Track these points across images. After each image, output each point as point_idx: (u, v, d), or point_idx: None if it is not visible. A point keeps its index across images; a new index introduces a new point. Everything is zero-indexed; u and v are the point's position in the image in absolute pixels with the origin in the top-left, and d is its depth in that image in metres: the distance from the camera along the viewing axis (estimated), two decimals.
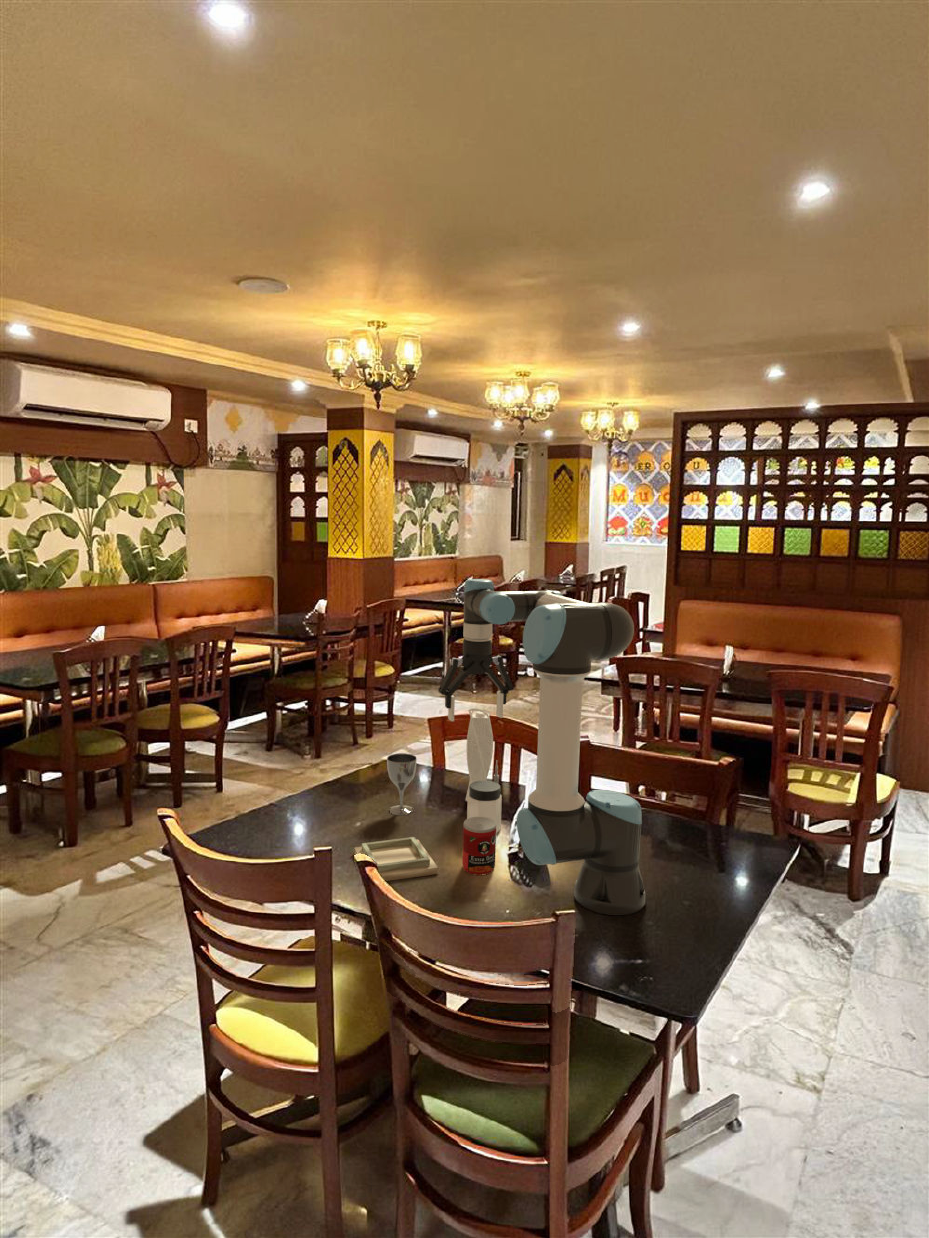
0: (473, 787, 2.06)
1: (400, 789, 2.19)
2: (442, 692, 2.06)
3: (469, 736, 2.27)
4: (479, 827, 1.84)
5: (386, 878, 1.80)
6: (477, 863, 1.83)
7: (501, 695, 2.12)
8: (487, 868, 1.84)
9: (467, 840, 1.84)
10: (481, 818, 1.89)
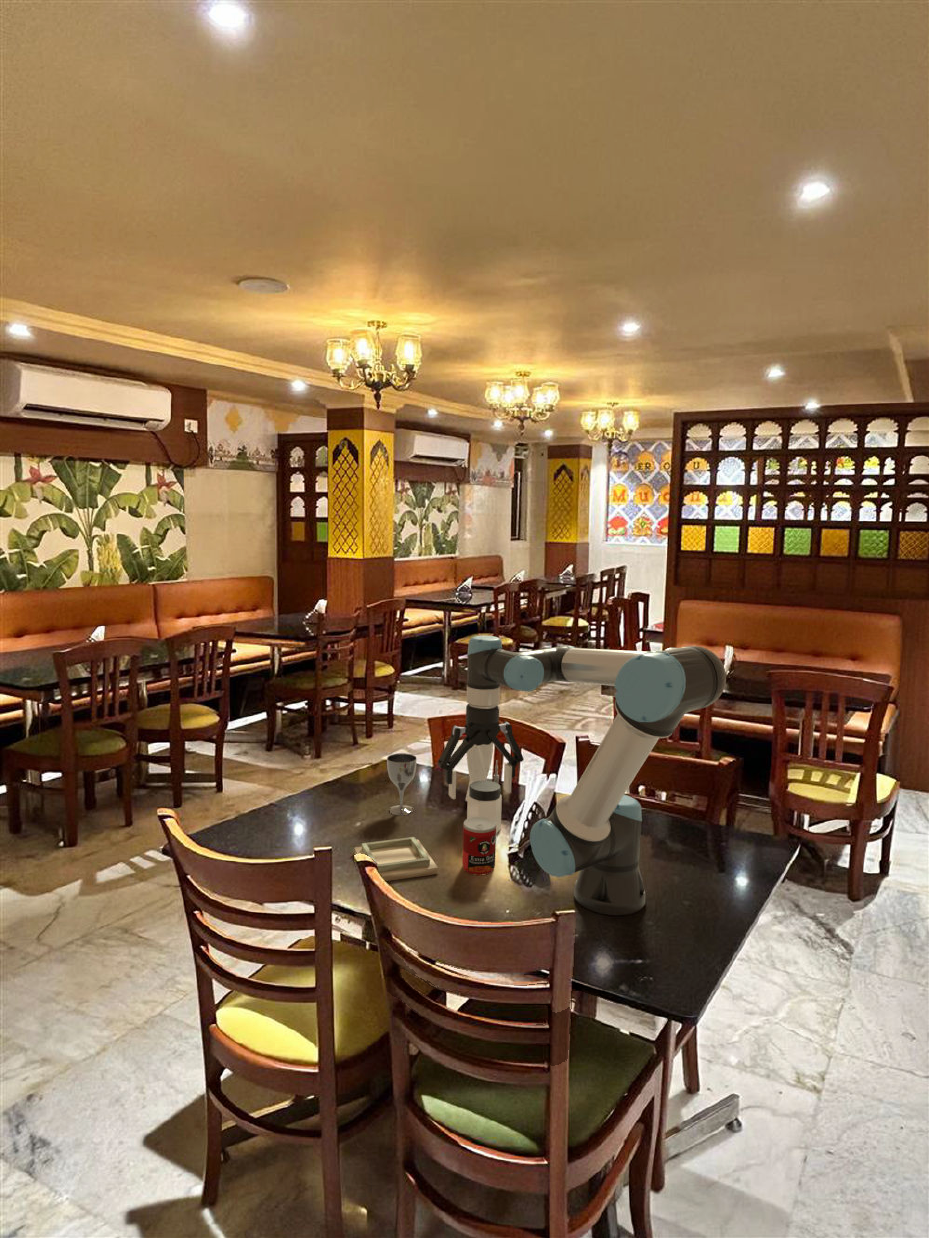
0: (473, 787, 2.06)
1: (400, 789, 2.19)
2: (442, 766, 1.80)
3: None
4: (479, 827, 1.84)
5: (386, 878, 1.80)
6: (477, 863, 1.83)
7: (509, 767, 1.85)
8: (487, 868, 1.84)
9: (467, 840, 1.84)
10: (481, 818, 1.89)
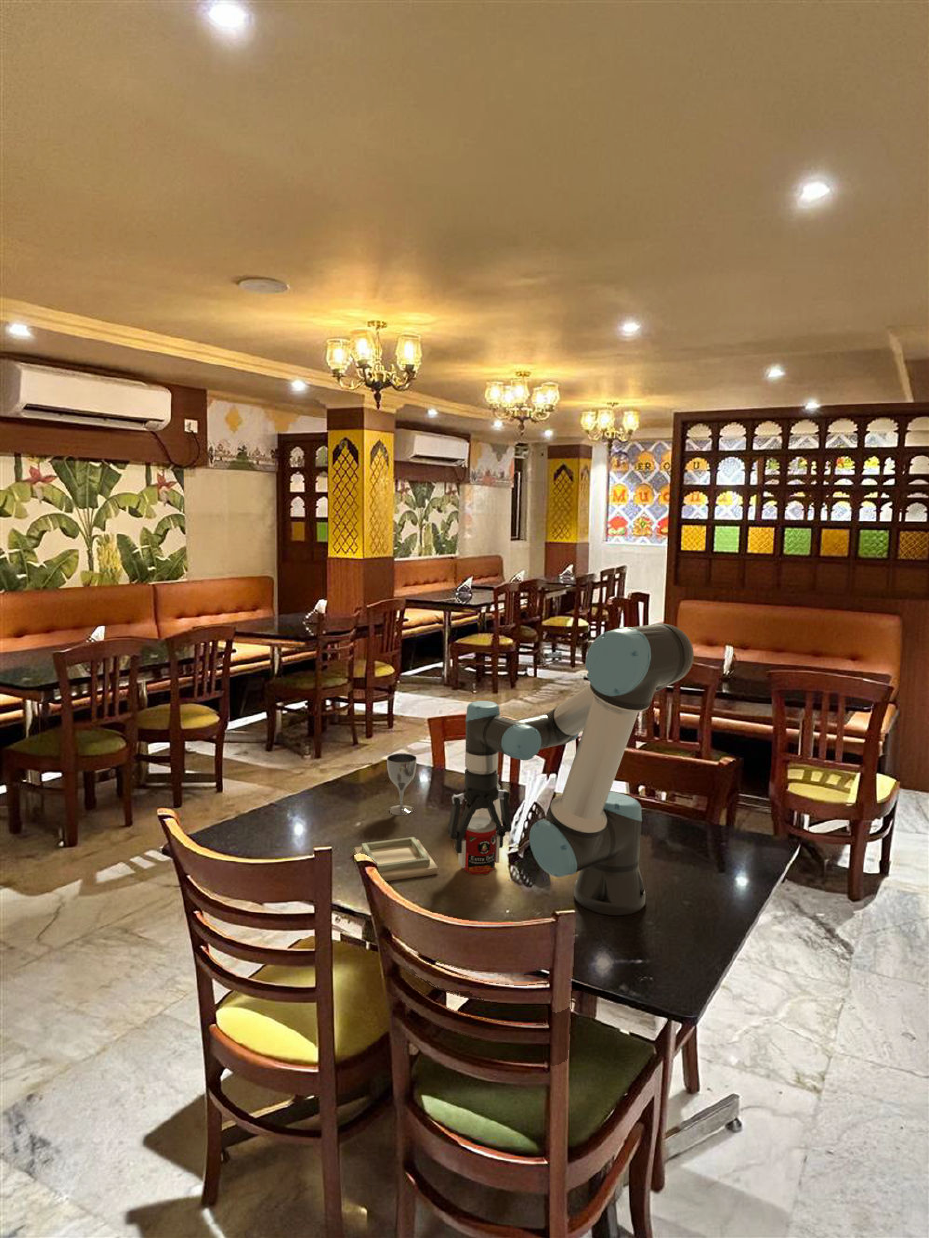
0: None
1: (400, 789, 2.19)
2: (452, 837, 1.83)
3: None
4: (479, 827, 1.84)
5: (386, 878, 1.80)
6: (477, 863, 1.83)
7: (497, 838, 1.87)
8: (487, 868, 1.84)
9: (467, 840, 1.84)
10: (481, 818, 1.89)
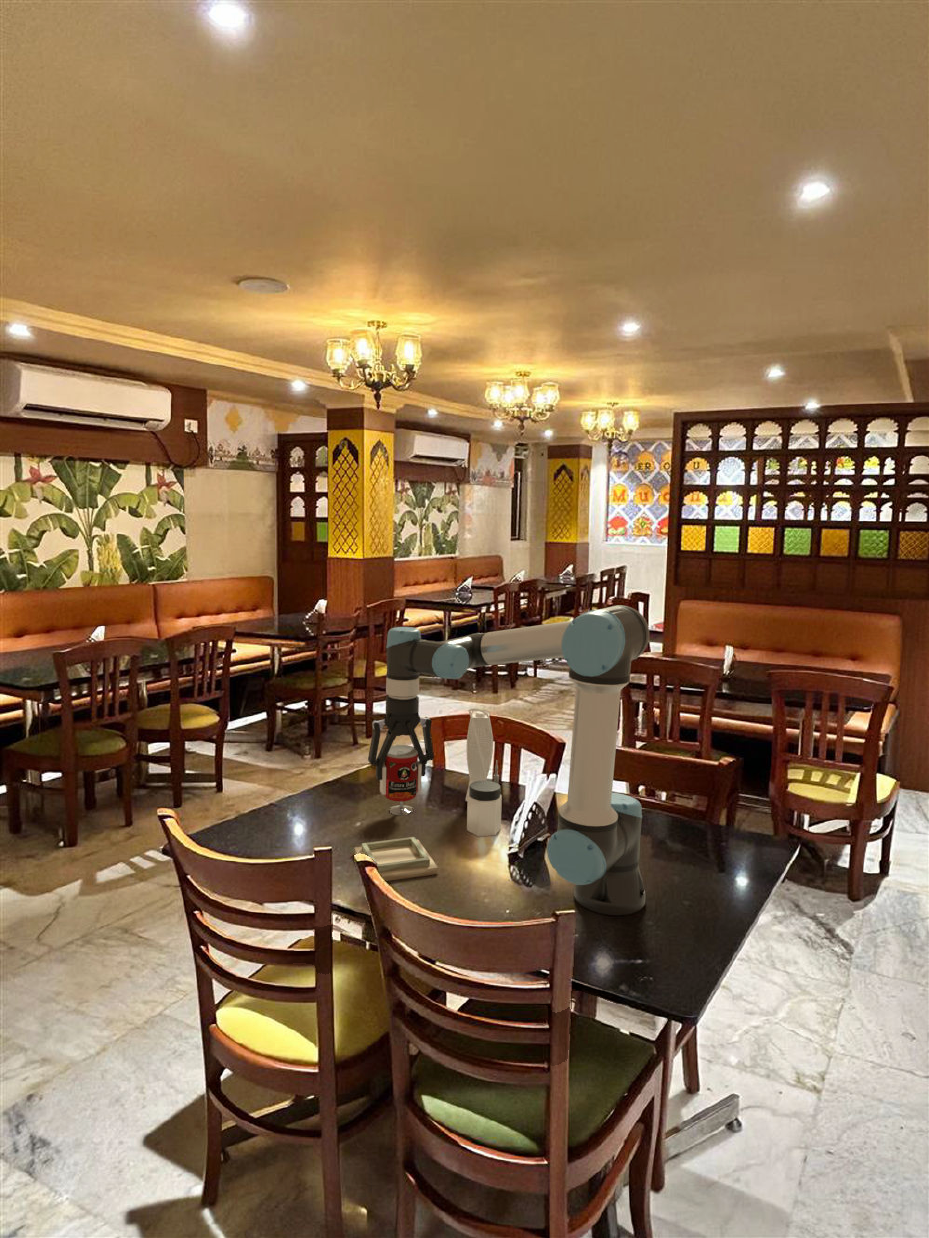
0: (473, 787, 2.06)
1: None
2: (372, 762, 1.82)
3: (469, 736, 2.27)
4: (400, 753, 1.84)
5: (386, 878, 1.80)
6: (397, 789, 1.83)
7: (419, 766, 1.86)
8: (407, 795, 1.83)
9: (387, 766, 1.83)
10: (404, 746, 1.89)
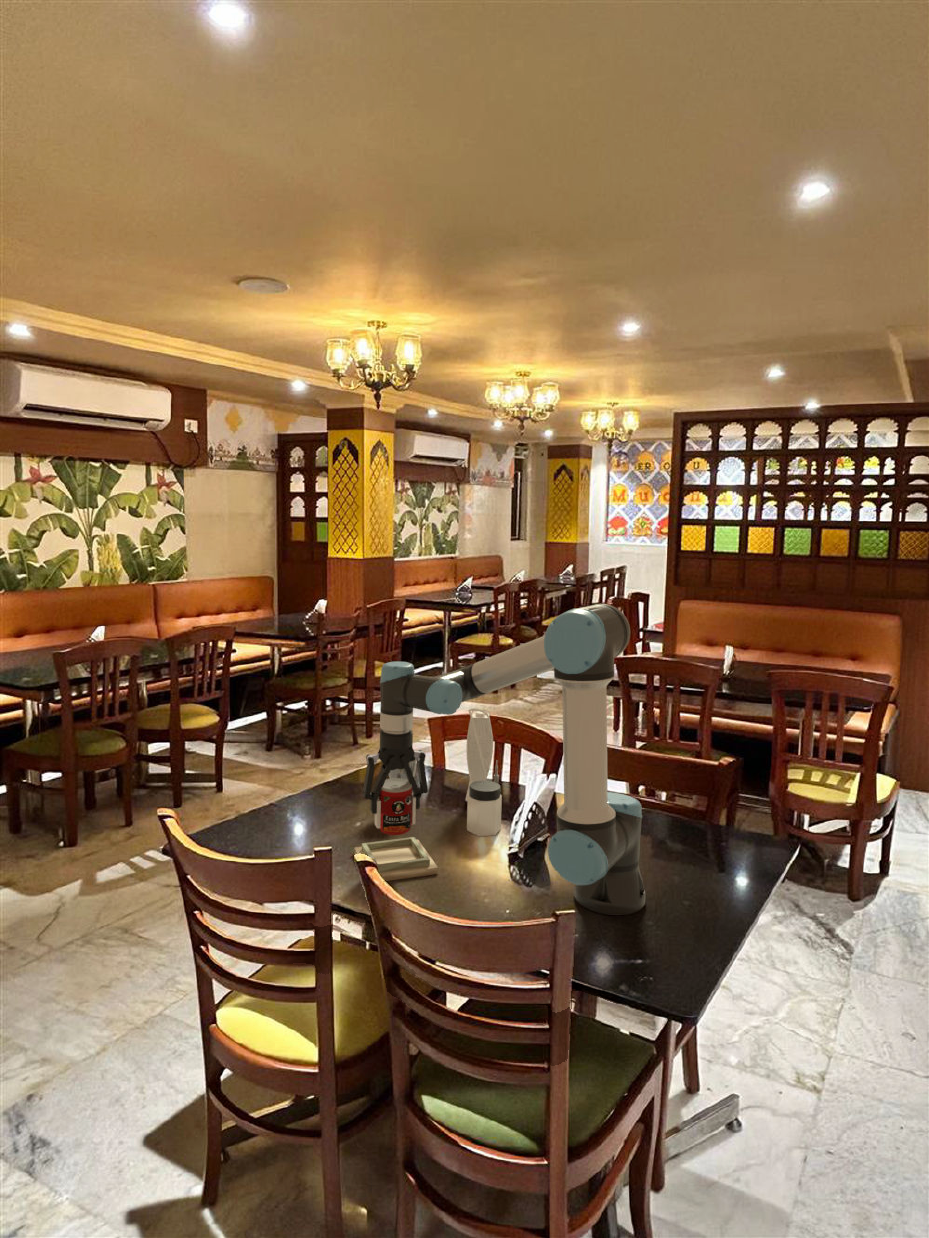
0: (473, 787, 2.06)
1: None
2: (366, 797, 1.83)
3: (469, 736, 2.27)
4: (394, 787, 1.85)
5: (386, 878, 1.80)
6: (391, 823, 1.84)
7: (413, 799, 1.87)
8: (402, 829, 1.84)
9: (382, 800, 1.84)
10: (398, 779, 1.90)
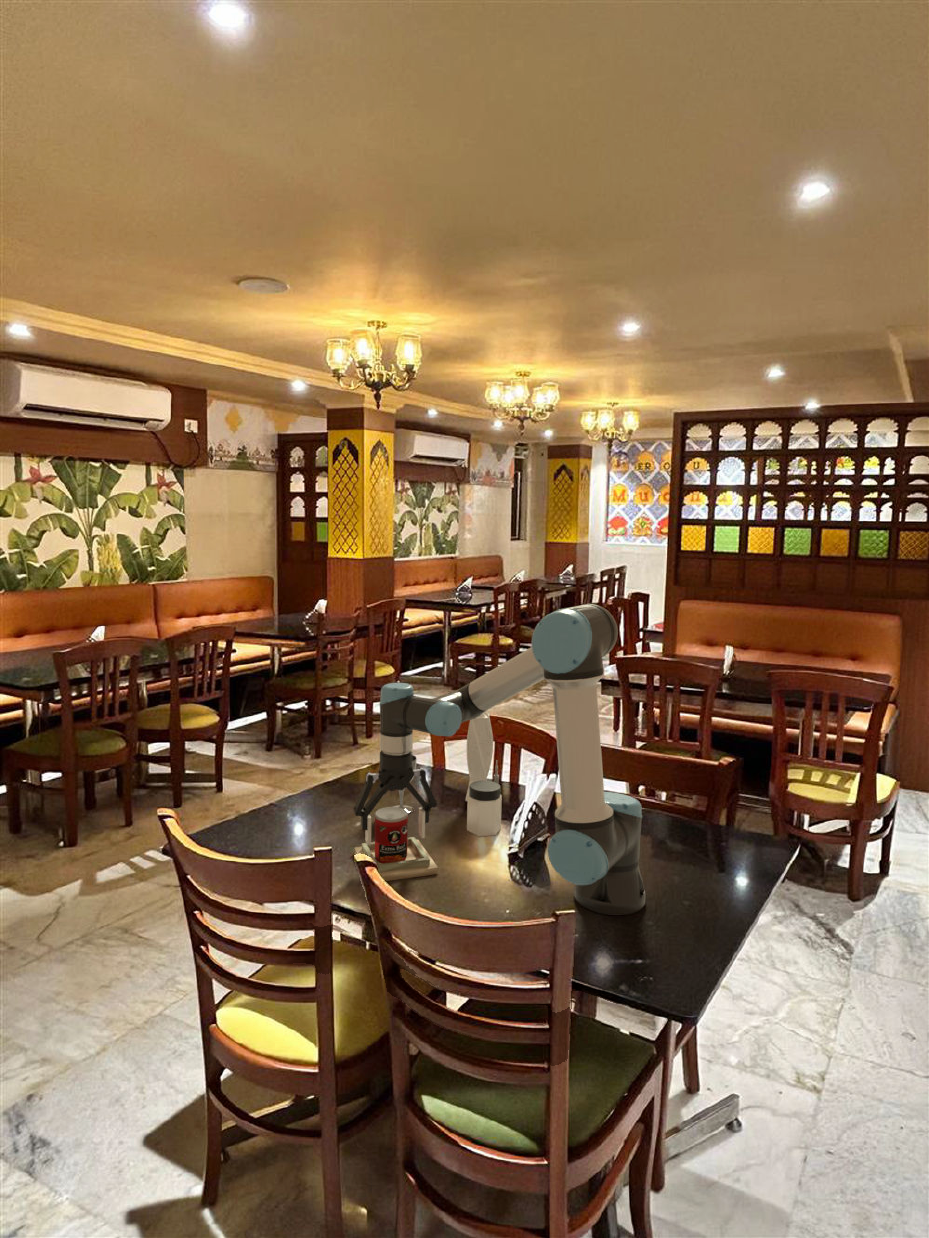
0: (473, 787, 2.06)
1: None
2: (356, 813, 1.83)
3: (469, 736, 2.27)
4: (390, 817, 1.85)
5: (386, 878, 1.80)
6: (387, 852, 1.84)
7: (422, 813, 1.88)
8: (398, 858, 1.85)
9: (378, 830, 1.85)
10: (394, 808, 1.90)
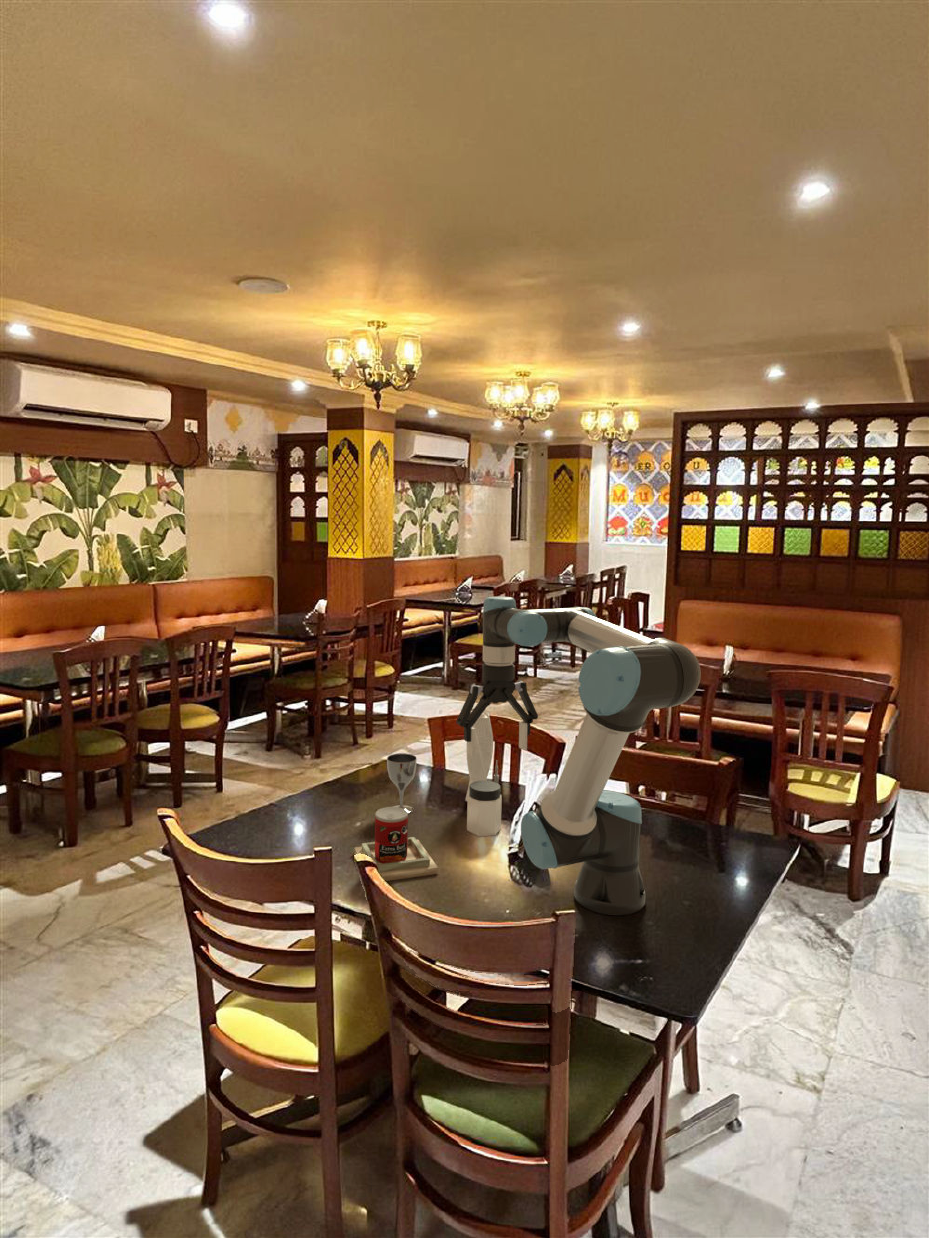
0: (473, 787, 2.06)
1: (400, 789, 2.19)
2: (461, 724, 1.84)
3: None
4: (390, 817, 1.85)
5: (386, 878, 1.80)
6: (387, 852, 1.84)
7: (525, 725, 1.91)
8: (398, 858, 1.85)
9: (378, 830, 1.85)
10: (394, 808, 1.90)
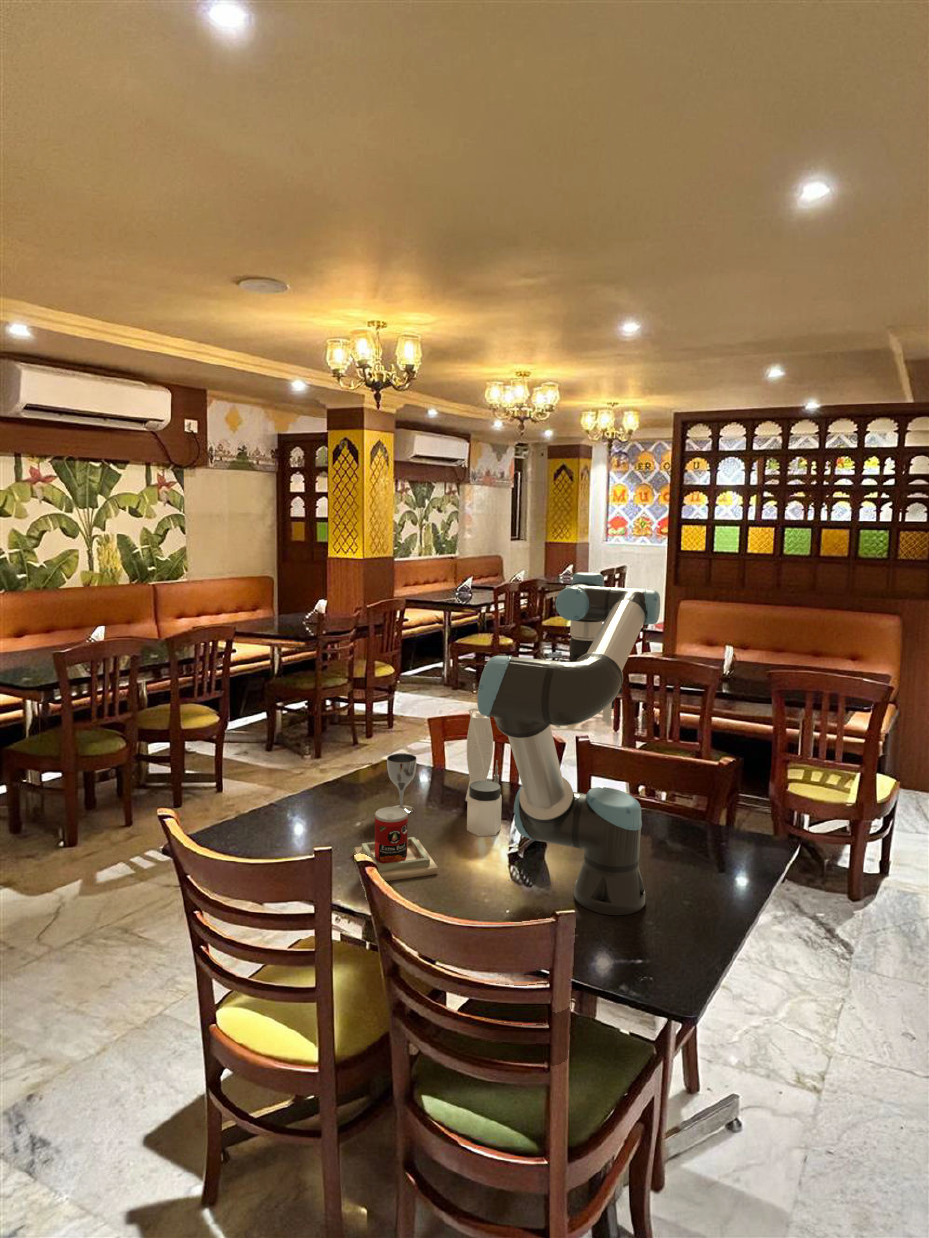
0: (473, 787, 2.06)
1: (400, 789, 2.19)
2: None
3: (469, 736, 2.27)
4: (390, 817, 1.85)
5: (386, 878, 1.80)
6: (387, 852, 1.84)
7: None
8: (398, 858, 1.85)
9: (378, 830, 1.85)
10: (394, 808, 1.90)
